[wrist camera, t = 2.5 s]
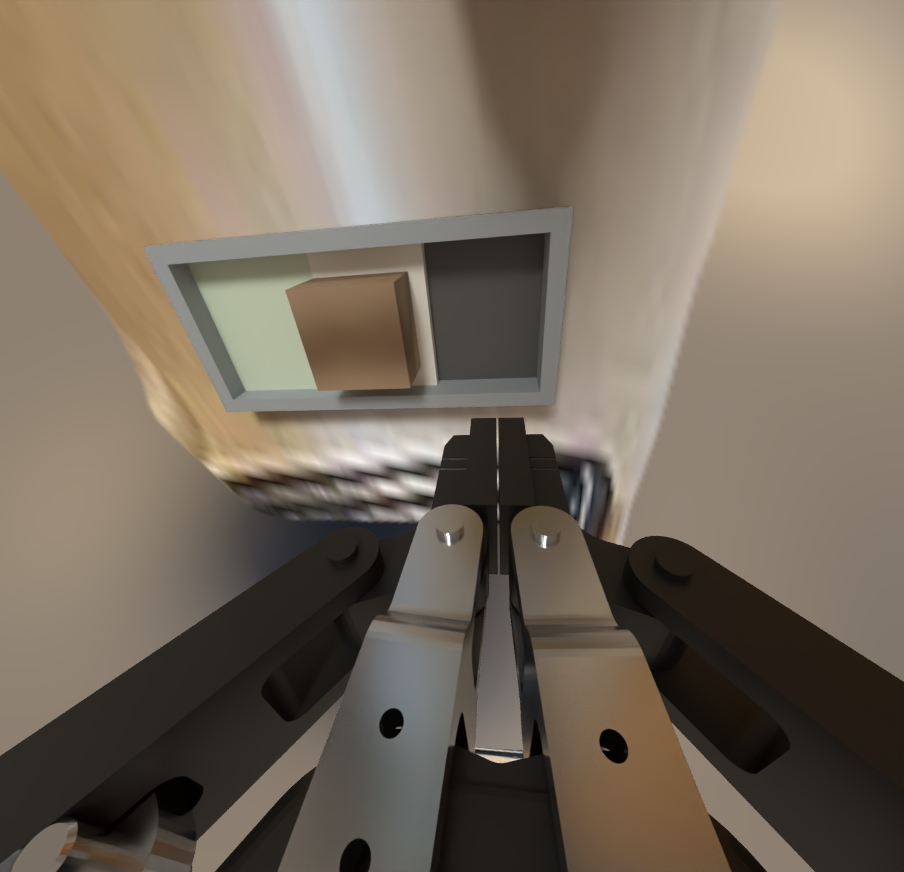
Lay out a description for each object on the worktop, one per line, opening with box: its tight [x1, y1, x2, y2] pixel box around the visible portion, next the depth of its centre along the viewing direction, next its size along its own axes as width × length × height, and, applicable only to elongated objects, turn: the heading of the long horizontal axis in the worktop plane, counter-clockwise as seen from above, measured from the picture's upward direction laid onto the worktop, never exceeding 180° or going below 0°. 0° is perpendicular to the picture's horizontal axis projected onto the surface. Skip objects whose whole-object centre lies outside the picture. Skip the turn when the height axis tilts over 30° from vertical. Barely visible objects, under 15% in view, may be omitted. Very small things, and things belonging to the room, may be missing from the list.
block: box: [285, 271, 421, 391], centre depth 21 cm, size 6×6×4 cm
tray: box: [143, 206, 574, 412], centre depth 22 cm, size 11×24×2 cm, turn 95°
